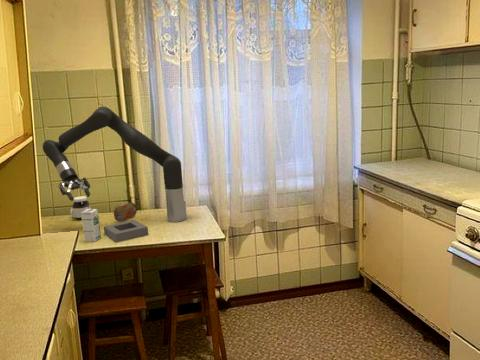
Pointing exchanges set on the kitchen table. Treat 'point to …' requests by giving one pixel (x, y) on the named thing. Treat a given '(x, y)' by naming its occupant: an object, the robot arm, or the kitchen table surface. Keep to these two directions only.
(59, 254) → the kitchen table surface
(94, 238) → the syrup box
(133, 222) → the gray square frame
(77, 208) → the spread jar
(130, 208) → the brown lumpy slab
